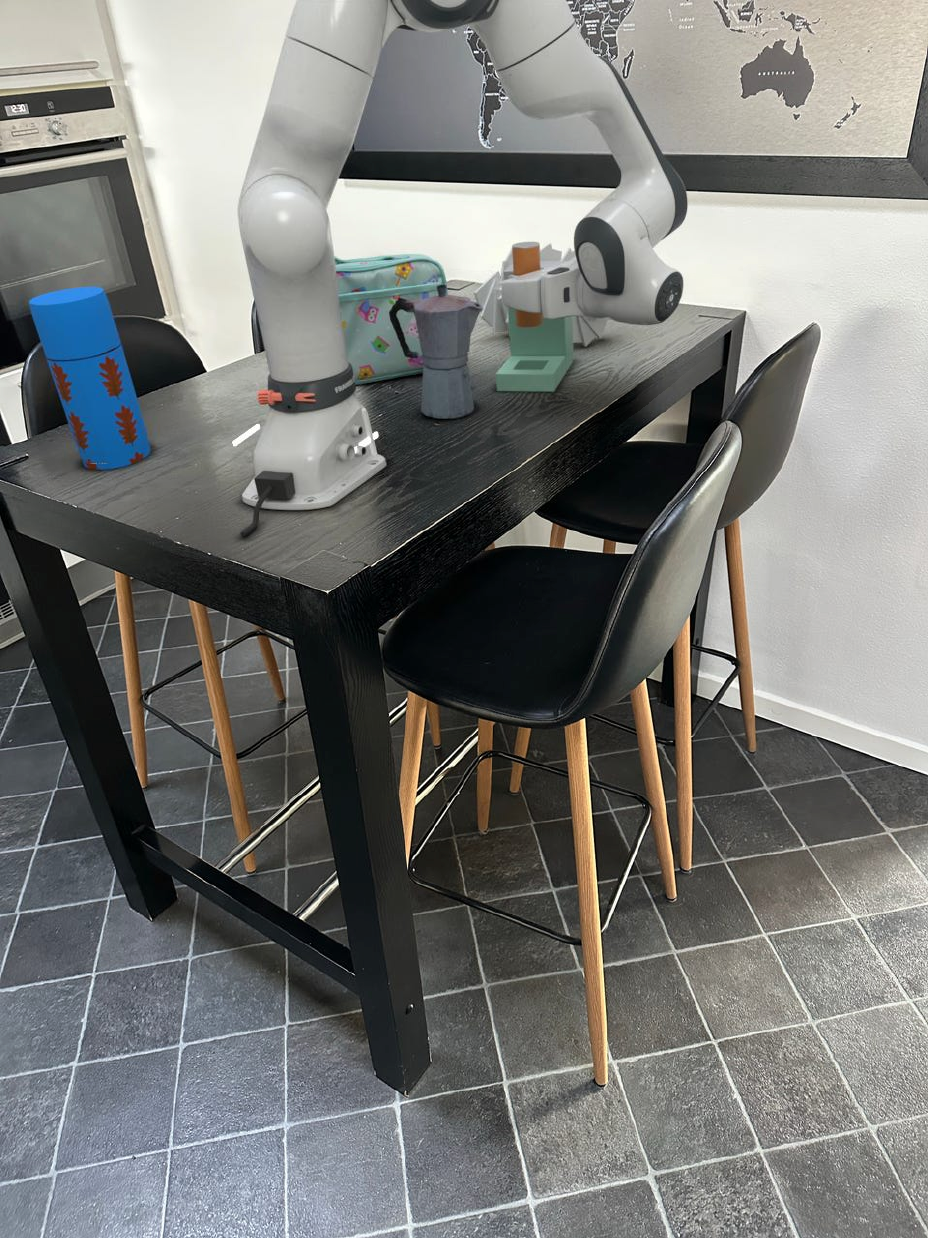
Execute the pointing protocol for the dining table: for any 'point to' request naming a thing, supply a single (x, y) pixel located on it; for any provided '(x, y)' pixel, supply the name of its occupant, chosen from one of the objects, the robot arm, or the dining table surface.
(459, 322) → the moka pot
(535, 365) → the square frame
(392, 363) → the lunch box
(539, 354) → the pet feeder tower
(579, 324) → the spiral staircase
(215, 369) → the dining table surface
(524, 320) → the orange silver-capped cylinder
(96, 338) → the thermos
